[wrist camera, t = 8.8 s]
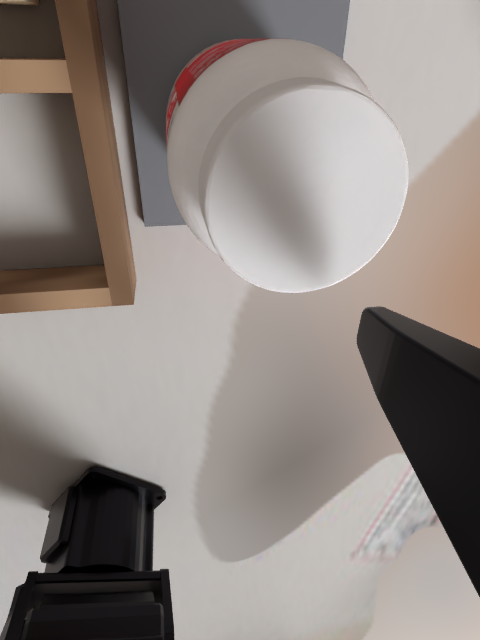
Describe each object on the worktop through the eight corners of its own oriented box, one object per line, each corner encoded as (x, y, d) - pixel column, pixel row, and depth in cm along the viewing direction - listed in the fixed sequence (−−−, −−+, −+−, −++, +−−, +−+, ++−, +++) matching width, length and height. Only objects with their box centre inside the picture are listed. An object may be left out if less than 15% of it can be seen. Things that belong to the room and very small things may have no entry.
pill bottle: (142, 69, 17) (114, 98, 7) (288, 16, 16) (443, -19, 7) (195, 212, 20) (220, 350, 11) (315, 170, 20) (443, 276, 11)
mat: (346, -2, 17) (350, -3, 16) (320, 215, 22) (322, 218, 21) (117, -8, 15) (115, -10, 15) (144, 223, 20) (144, 226, 20)
